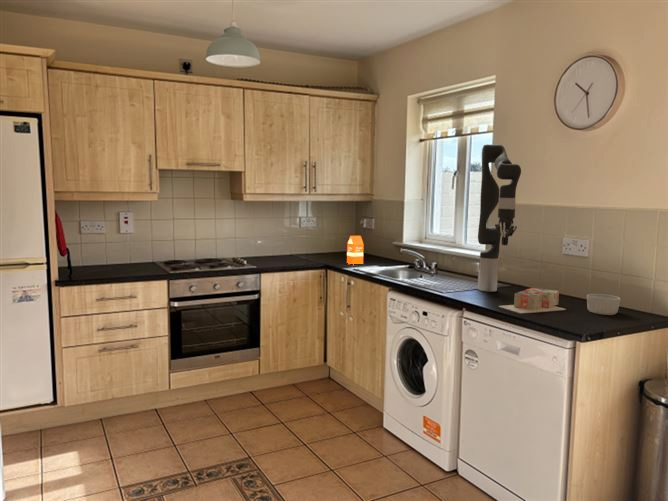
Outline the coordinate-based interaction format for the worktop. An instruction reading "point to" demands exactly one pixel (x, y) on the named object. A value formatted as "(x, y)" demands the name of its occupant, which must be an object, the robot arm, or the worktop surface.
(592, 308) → the ramekin
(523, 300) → the stack of blocks
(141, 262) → the worktop surface
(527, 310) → the mat
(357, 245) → the orange juice
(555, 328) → the worktop surface
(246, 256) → the worktop surface
